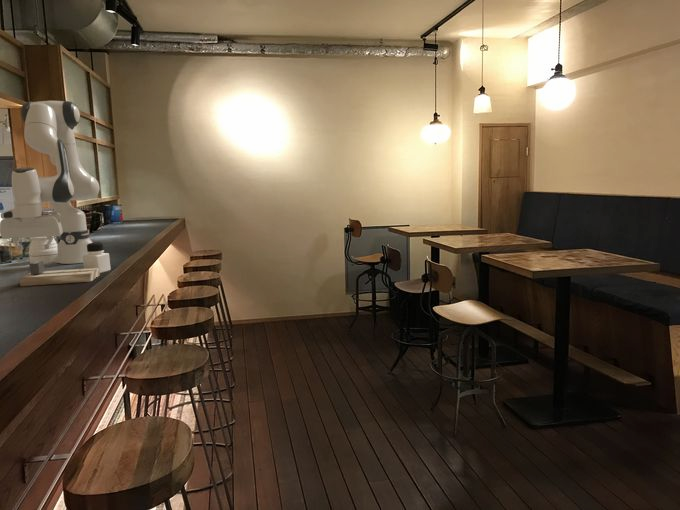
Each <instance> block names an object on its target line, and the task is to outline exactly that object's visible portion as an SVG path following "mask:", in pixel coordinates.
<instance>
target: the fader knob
mask: <svg viewBox="0 0 680 510" xmlns="http://www.w3.org/2000/svg"><path fill="white" fill-rule="evenodd" d="M29 271H30V273H31V274H41V273H43V272H45V271H46V270H45V263H44V261H36V262H33V263H30V262H29Z"/></svg>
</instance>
